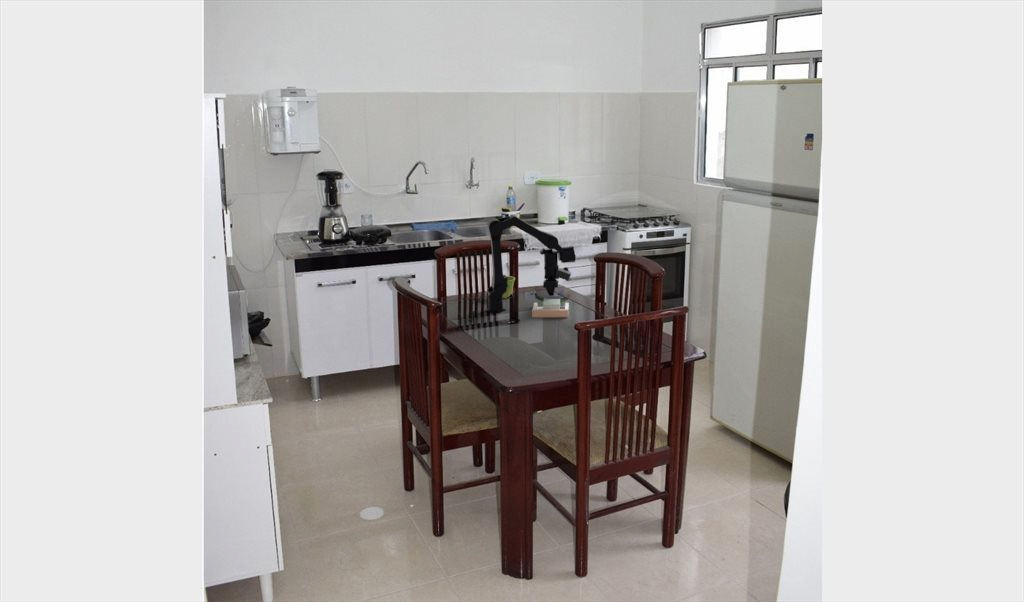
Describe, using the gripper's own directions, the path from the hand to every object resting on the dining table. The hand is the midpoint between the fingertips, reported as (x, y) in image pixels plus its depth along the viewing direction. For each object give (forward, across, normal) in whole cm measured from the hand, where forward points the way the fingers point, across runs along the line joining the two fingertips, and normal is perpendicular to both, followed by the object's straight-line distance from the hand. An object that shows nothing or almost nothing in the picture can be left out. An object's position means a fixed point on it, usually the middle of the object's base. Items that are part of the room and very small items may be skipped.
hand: (551, 298), depth 342 cm
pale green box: (+3, -6, 0) cm, 7 cm away
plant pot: (+4, +17, +22) cm, 28 cm away
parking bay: (+4, -8, 0) cm, 9 cm away
